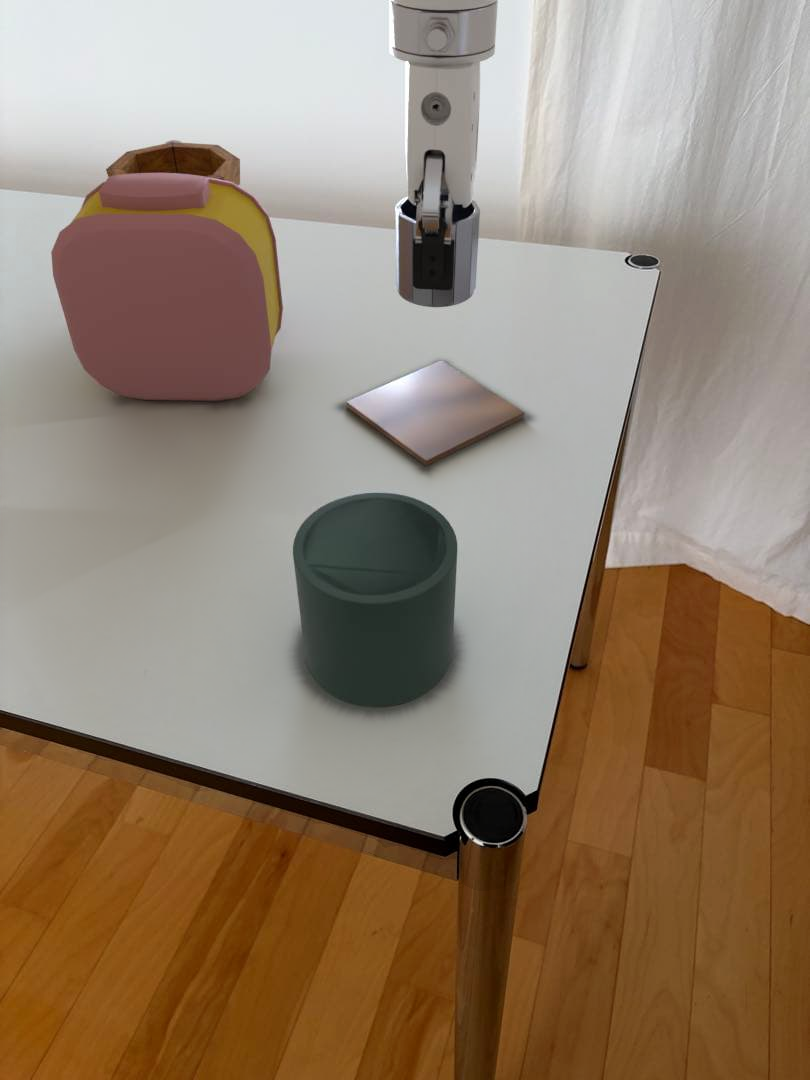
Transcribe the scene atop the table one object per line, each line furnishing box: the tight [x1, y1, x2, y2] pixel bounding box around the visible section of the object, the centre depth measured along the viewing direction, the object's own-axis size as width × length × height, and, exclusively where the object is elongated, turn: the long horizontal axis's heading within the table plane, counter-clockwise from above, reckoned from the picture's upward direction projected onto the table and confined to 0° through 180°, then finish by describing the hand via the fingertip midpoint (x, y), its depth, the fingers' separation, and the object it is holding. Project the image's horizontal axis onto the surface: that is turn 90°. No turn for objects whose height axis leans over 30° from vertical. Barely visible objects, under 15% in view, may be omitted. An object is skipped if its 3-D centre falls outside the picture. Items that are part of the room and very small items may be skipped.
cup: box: [394, 192, 481, 308], centre depth 74 cm, size 7×7×7 cm
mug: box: [105, 139, 241, 187], centre depth 99 cm, size 20×14×15 cm
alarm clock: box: [50, 173, 284, 402], centre depth 83 cm, size 18×11×19 cm, turn 88°
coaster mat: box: [345, 360, 525, 467], centre depth 85 cm, size 12×12×1 cm
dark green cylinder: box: [292, 491, 458, 708], centre depth 60 cm, size 10×10×10 cm
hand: (436, 265), depth 75 cm, fingers closed on cup, 6 cm apart
